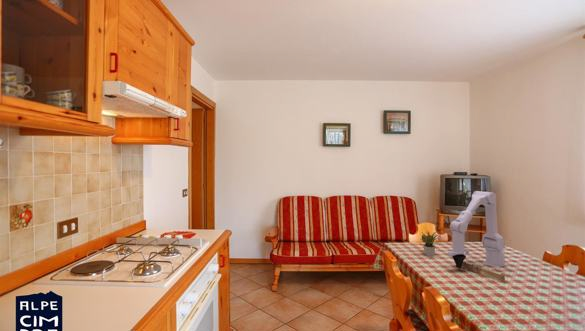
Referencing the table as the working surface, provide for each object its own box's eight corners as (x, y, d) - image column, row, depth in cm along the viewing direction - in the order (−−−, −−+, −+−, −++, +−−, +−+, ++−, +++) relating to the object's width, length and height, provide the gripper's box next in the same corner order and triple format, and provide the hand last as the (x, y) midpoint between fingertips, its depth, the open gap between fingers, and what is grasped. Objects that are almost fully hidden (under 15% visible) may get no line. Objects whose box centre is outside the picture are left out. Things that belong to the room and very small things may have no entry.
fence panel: (478, 272, 147) (478, 265, 147) (476, 273, 146) (476, 265, 146) (458, 265, 157) (458, 258, 157) (456, 266, 156) (456, 259, 156)
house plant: (444, 254, 179) (444, 229, 179) (443, 260, 168) (443, 233, 168) (420, 250, 187) (420, 226, 187) (418, 256, 175) (417, 231, 175)
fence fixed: (479, 273, 146) (478, 265, 146) (505, 282, 134) (505, 274, 134) (477, 273, 146) (476, 266, 146) (503, 283, 134) (503, 274, 134)
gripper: (456, 246, 144) (456, 272, 144) (474, 243, 150) (474, 268, 150) (444, 243, 151) (444, 267, 151) (462, 240, 157) (462, 263, 156)
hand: (458, 267), depth 151 cm, fingers closed
